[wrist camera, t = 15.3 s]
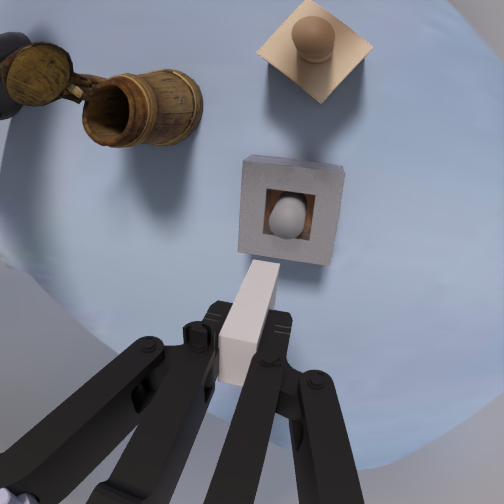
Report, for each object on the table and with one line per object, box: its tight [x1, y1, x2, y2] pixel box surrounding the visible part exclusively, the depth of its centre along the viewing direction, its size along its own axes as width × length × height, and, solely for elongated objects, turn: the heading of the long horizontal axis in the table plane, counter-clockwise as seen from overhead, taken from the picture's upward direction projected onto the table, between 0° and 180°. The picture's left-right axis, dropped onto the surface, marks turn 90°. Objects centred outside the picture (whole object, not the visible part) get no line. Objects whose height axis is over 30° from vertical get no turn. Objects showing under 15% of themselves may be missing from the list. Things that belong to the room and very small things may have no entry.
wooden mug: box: [0, 42, 203, 148], centre depth 24 cm, size 9×14×18 cm, turn 47°
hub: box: [269, 189, 315, 239], centre depth 31 cm, size 7×7×8 cm
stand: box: [257, 0, 373, 104], centre depth 23 cm, size 7×7×11 cm
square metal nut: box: [238, 154, 345, 266], centre depth 31 cm, size 9×9×4 cm
